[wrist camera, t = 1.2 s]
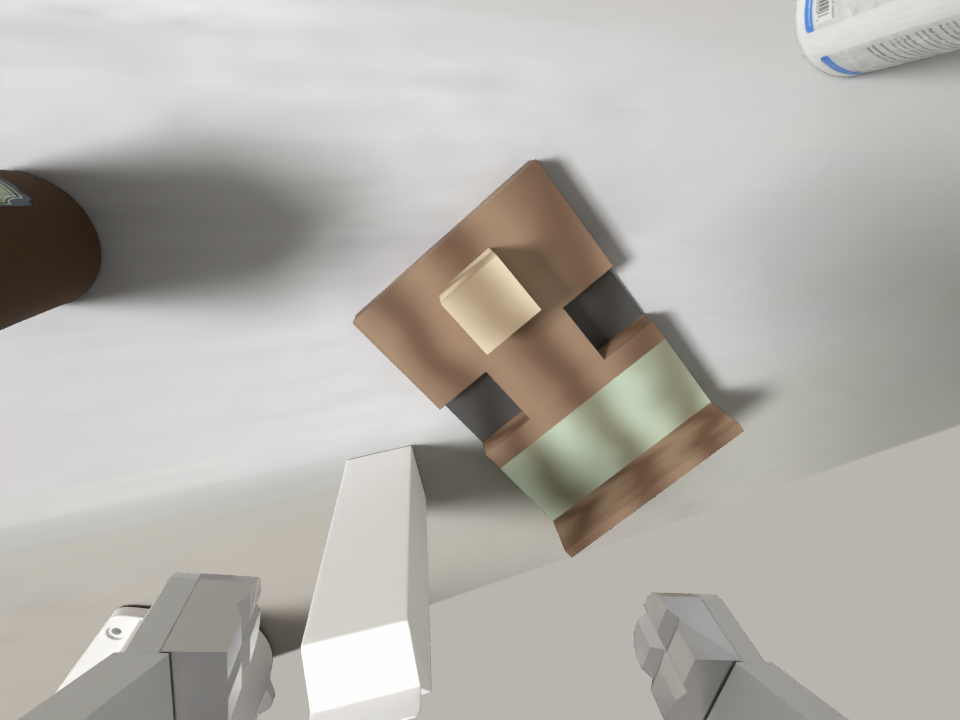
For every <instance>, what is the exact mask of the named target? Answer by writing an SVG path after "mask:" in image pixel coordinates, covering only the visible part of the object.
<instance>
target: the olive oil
mask: <svg viewBox="0 0 960 720" xmlns="http://www.w3.org/2000/svg"><path fill="white" fill-rule="evenodd" d="M100 262H101V250H100V244H99V240H98V236H97V234H96V231H95V229H94V227H93V225H92V223H91V221H90V219H89V218H88V216H87V215H86V213H85V212H84V211H83V209H82V208H81V207H80V206H79V205H78V204H77V203H76V202H75V201H74V200H73V199H72V198H71V197H70V196H69V195H68V194H66V193H65V192H64V191H62V190H61V189H59V188H58V187H56V186H55V185H53V184H51V183H49V182H48V181H45V180H43V179H41V178H39V177H36V176H33V175H30V174H26V173H22V172H17V171H8V170H0V330H2V329H4V328H7V327H9V326H11V325H14V324H16V323H18V322H21V321H23V320H26V319H28V318H31V317H33V316H36V315H38V314H41V313H43V312H46V311H48V310H51V309H53V308H56V307H58V306H61V305H63V304H65V303H68V302H70V301H72V300H74V299H76V298H78V297H79V296H81V295H82V294H83V293H85V292H86V291H87V290H88V289H89V288H90V287H91V285H92V284H93V282H94V281H95V279H96V277H97V275H98V272H99V268H100Z"/></svg>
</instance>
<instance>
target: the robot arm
mask: <svg viewBox="0 0 960 720" xmlns="http://www.w3.org/2000/svg"><path fill="white" fill-rule="evenodd" d="M260 592H261V579H260V578H259V577H250V576H235V575H220V574H205V573H204V574H198V573H182V572H175V573H174V574H173V575H172V576H171V577H169V578H168V579H167V581H166V583H165V584H164V586H163V588H162V589H161V591H160V593H159V594H158V596H157V598H156V599H155V601H154V602H153V604H152V606H151V607H150V609H146V608H137V607H121V608H118V609H116V610H115V611H114V612H113V613H112V615H111V616H110V617H109V619H108V620H107V622H106V623H105V624H104V626H103V627H102V628H101V630H100V631H99V633H98V634H97V635H96V637H95V638H94V639H93V641H92V642H91V644H90V645H89V646H88V648H87V649H86V650H85V652H84V653H83V655H82V656H81V657H80V659H79V660H78V662H77V663H76V664H75V666H74V667H73V668H72V670H71V671H70V673H69V674H68V675H67V677H66V678H65V679H64V681H63V682H62V684H61V685H60V686H59V688H58V689H57V691H56V692H55V693H54V694H53V695H52V696H51V697H49V698H48V699H46V700H45V701H43V702H42V703H41V704H39V705H38V706H36V707H35V708H33V709H32V710H31V711H29V712H28V713H26V714H25V715H23V716H22V717H21V718H19V719H18V720H256V719H257V717H258V714H260V713H262V712H263V711H266V710H267V709H269V708H270V707H271V704H272V702H273V699H274V697H275V692H274V688H273V686H272V683H271V681H270V672H271V668H272V661H273V657H272V651H271V647H270V645H269V643H268V641H267V639H266V637H265V636H264V635H263V633H262V632H261V631H260V630H259V625H260V611H261V609H260V608H259V607H258V605H257V604H256V603H257V601H258V598H259V595H260ZM644 606H645V609H646V611H647V614H645V615H644V616H643V617H641V618H640V619H639V620H638V622H637V625H636V628H635V630H634V647H635V651H636V655H637V658H638V661H639V663H640V666H641V668H642V669H643V670H644V671H645V672H646V673H647V674H648V675H649V676H650V677H652V678H653V681H652V686H651V691H652V693H653V695H654V698H655V700H656V702H657V705H658V707H659V709H660V711H661V714H662V716H663V718H664V720H848V719H847V718H846V717H844V716H843V715H842V714H840V713H839V712H837V711H836V710H835V709H833V708H832V707H831V706H829V705H828V704H827V703H825V702H824V701H823V700H821V699H820V698H819V697H817V696H816V695H815V694H813V693H812V692H810V691H809V690H808V689H807V688H805V687H804V686H802V685H801V684H800V683H798V682H797V681H796V680H794V679H793V678H792V677H790V676H789V675H788V674H786V673H785V672H784V671H782V670H781V669H779V668H778V667H777V666H776V665H774V664H773V663H768V662H765V661H764V660H763V658H762V657H761V655H760V654H759V652H758V651H757V649H756V648H755V647H754V645H753V644H752V642H751V641H750V640H749V638H748V636H747V635H746V634H745V632H744V631H743V629H742V628H741V626H740V625H739V623H738V622H737V621H736V619H735V618H734V616H733V615H732V613H731V612H730V610H729V609H728V607H727V606H726V605H725V603H724V602H723V600H722V599H721V598H719V597H718V596H717V595H710V594H682V593H651V594H650V595H649V596H648V597H647V599H646V601H645V604H644Z"/></svg>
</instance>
